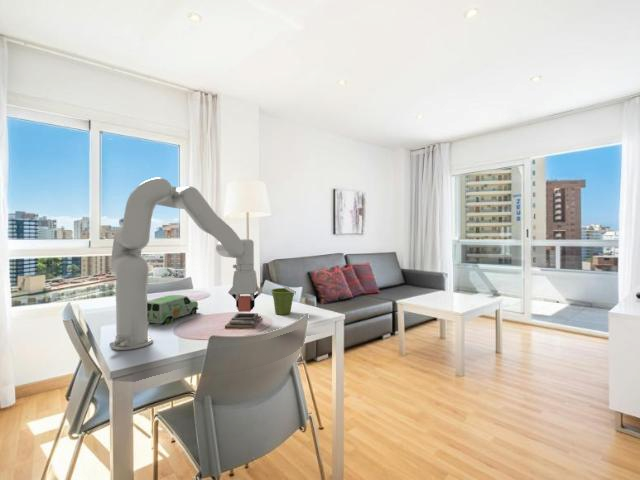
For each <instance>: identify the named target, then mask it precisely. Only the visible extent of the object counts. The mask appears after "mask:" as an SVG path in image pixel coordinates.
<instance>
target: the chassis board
mask: <svg viewBox="0 0 640 480" xmlns="http://www.w3.org/2000/svg"><path fill="white" fill-rule="evenodd" d="M260 318H261V319H262V315H259V313H257V312H256V313H253V312H251V313H249V312H246V313H245V312H242V313H241V312H238V313H235V315H234V316H233V317H232V318H231V319H230V320H229V321H228V322H227V323H226V324H225V325H224V329H226V328H238V330H239V329H240V330H244V329H243V328H254V329H256V327H257V326H258V324H257V323H259V322H260V321H259V320H261V319H260ZM258 321H259V322H258ZM255 326H256V327H255Z"/></svg>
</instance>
